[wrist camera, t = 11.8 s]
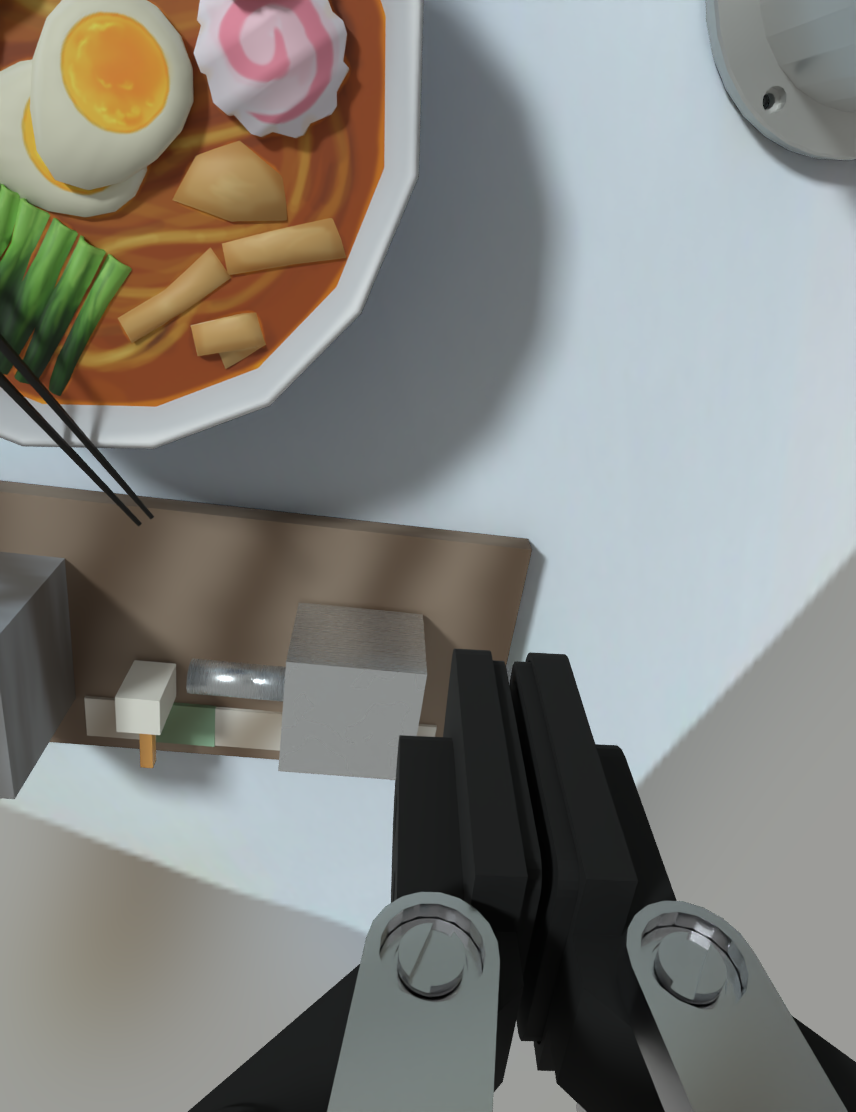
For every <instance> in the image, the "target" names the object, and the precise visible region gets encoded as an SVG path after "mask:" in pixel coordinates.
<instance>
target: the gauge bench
mask: <svg viewBox="0 0 856 1112" xmlns="http://www.w3.org/2000/svg"><path fill="white" fill-rule="evenodd" d="M114 494H115V495H116V496H117V497H118V498H119V499H120V500H121V501H122V502H123V503H124V505H125V506H126V507H127V508H128V509H129V510H130V511H131V512H132V513H133V514H134V515H135V516H136V517H137V519H138V520H139V521H140V522H141V523H142V524H141V525H140V526H139V527H138V526H137V525H136V524H135V523H134V522H133V521H132V520H131V519H130V518H129V517H128V516H127V515H126V513H125V512H124V511H123V510H122V509H121V508H120V507H119V506H118V505H117V504H116V503H115V502H114V501H113V500H112V499H111V498H110V497H109V496H108V495H107V494H106V493H105V492H98V491H89V490H80V489H71V488H62V487H53V486H44V485H35V484H26V483H17V482H8V481H0V798H6V799H15V798H16V796H17V794H18V793H19V791H20V789H21V788H22V786H23V784H24V783H25V781H26V779H27V778H28V776H29V774H30V773H31V771H32V769H33V768H34V766H35V765H36V763H37V761H38V760H39V758H40V756H41V755H42V753H43V751H44V750H45V748H46V746H47V745H48V743H49V742H58V743H71V744H84V745H97V746H110V747H123V748H136V749H140V738H139V733H126V732H117V731H116V712H115V696H116V694H117V692H118V690H119V688H120V687H121V685H122V683H123V681H124V679H125V677H126V675H127V673H128V672H129V670H130V668H131V666H132V664H133V662H134V660H139V661H151V662H162V663H173V664H176V698H175V701H174V703H173V705H172V708H171V710H170V713H169V715H168V718H167V720H166V722H165V725H164V727H163V730H162V732H161V734H160V735H156V750H161V751H174V752H187V753H200V754H213V755H226V756H239V757H252V758H264V759H277V760H279V755H280V741H281V727H282V712H283V701H271V700H259V699H248V698H236V697H224V696H213V695H201V694H189V693H187V689H186V683H187V674H188V669H189V665H190V662H191V660H192V659H193V658H194V659H205V660H216V661H227V662H238V663H249V664H260V665H271V666H283V667H286V660H287V655H288V650H289V646H290V641H291V636H292V632H293V627H294V623H295V618H296V613H297V609H298V604H299V602H300V603H311V604H321V605H331V606H341V607H351V608H361V609H371V610H382V611H392V612H402V613H412V614H422V615H423V625H424V638H425V652H426V666H427V679H426V685H425V690H424V696H423V702H422V708H421V714H420V720H419V726H418V732H417V736H427V737H443V732H444V723H445V714H446V705H447V696H448V687H449V678H450V670H451V661H452V654H453V650H454V649H473V650H490V651H491V654H492V659H493V660H496V661H504V662H505V665H506V664H507V659H508V655H509V650H510V646H511V641H512V637H513V632H514V628H515V623H516V619H517V614H518V610H519V605H520V601H521V597H522V592H523V588H524V583H525V579H526V574H527V570H528V565H529V561H530V556H531V552H532V549H531V546H530V543H529V541H528V539H524V538H515V537H506V536H497V535H488V534H478V533H469V532H460V531H451V530H442V529H433V528H424V527H415V526H406V525H397V524H388V523H379V522H370V521H361V520H352V519H343V518H334V517H325V516H316V515H306V514H297V513H288V512H279V511H270V510H261V509H252V508H243V507H234V506H225V505H216V504H207V503H198V502H189V501H180V500H171V499H162V498H153V497H144V496H137V497H138V498H139V499H140V500H141V501H142V503H143V504H144V505H145V506H146V507H147V509H148V510H149V511H150V512H151V513H152V514H153V516H154V518H152V519H151V520H150V518H149V517H148V516H147V515H146V514H145V513H144V512H143V511H142V509H141V508H140V507H139V506H138V505H137V504H136V503H135V502H134V500H133V499H132V498H131V497H130V496H129V495H125V494H116V493H114Z"/></svg>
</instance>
